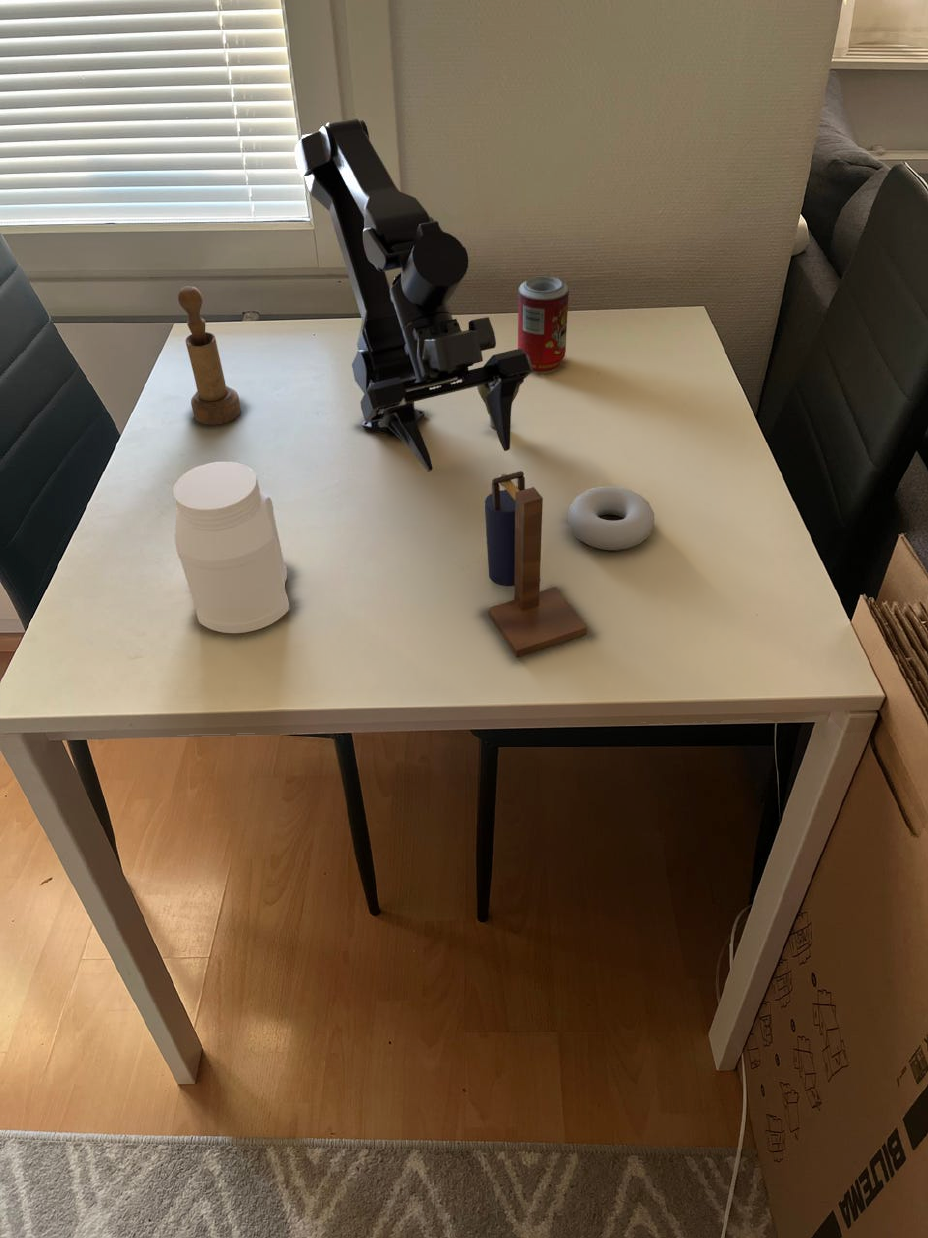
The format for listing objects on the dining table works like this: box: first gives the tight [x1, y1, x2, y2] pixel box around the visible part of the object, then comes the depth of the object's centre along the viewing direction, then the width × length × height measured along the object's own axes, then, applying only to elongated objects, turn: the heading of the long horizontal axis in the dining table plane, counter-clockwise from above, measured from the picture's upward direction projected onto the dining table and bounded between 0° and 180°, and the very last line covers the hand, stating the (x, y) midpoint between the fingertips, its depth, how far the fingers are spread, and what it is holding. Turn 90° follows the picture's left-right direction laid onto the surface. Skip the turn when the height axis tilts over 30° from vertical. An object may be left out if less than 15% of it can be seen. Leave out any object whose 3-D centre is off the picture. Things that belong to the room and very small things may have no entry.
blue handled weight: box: [484, 470, 526, 588], centre depth 96 cm, size 4×4×13 cm
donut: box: [567, 485, 655, 551], centre depth 107 cm, size 10×4×10 cm
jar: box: [172, 461, 290, 634], centre depth 96 cm, size 12×10×15 cm
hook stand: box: [488, 473, 588, 658], centre depth 93 cm, size 12×8×15 cm, turn 23°
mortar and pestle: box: [177, 285, 242, 426], centre depth 123 cm, size 7×6×18 cm
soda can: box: [517, 275, 570, 374], centre depth 133 cm, size 7×7×12 cm
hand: (469, 460), depth 101 cm, fingers open, 9 cm apart
